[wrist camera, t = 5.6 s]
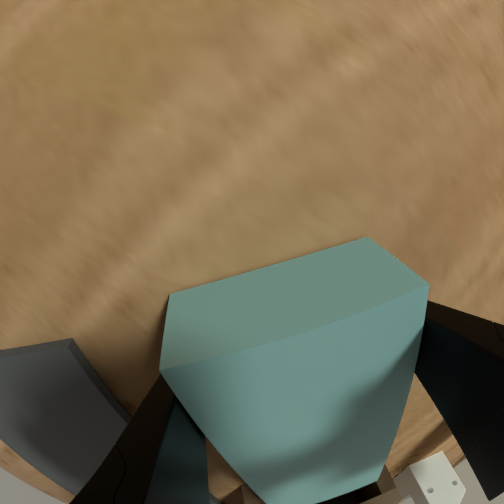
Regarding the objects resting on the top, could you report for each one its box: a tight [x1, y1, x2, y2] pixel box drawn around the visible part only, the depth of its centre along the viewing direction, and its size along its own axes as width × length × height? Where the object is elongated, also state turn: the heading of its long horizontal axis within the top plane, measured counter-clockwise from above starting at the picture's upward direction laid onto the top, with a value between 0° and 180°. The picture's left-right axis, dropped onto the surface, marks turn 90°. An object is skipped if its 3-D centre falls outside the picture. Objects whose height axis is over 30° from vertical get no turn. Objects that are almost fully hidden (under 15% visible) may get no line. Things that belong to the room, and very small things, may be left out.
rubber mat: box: [0, 338, 223, 504], centre depth 12 cm, size 12×20×1 cm, turn 12°
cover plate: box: [159, 237, 429, 504], centre depth 10 cm, size 6×14×3 cm, turn 14°
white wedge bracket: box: [393, 451, 466, 504], centre depth 18 cm, size 4×10×9 cm, turn 78°
